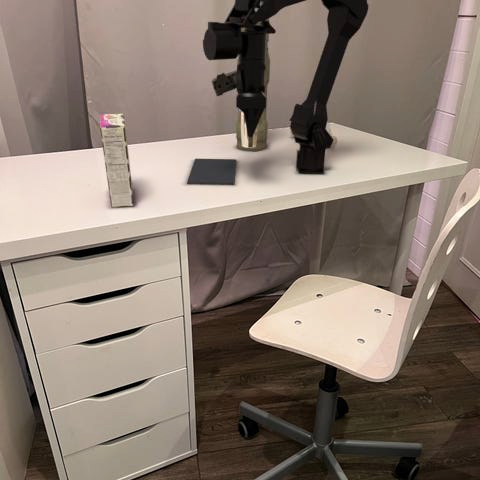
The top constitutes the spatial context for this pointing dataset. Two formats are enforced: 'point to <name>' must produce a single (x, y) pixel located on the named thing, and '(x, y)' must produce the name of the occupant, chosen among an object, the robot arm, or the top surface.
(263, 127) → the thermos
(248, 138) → the milkshake
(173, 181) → the top surface
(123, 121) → the candy bar box
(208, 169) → the mat
